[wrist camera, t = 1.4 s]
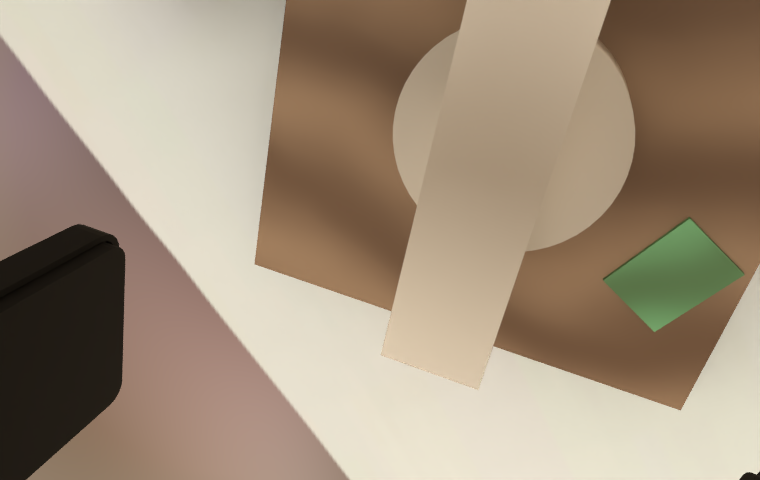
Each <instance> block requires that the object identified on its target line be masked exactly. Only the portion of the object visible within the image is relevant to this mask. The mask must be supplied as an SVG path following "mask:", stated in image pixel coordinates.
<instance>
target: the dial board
mask: <svg viewBox="0 0 760 480" xmlns="http://www.w3.org/2000/svg"><path fill="white" fill-rule="evenodd" d="M466 2H467V0H286V7H285V15H284V23H283V32H282V40H281V48H280V57H279V65H278V73H277V82H276V90H275V98H274V107H273V115H272V123H271V132H270V140H269V148H268V157H267V165H266V173H265V182H264V190H263V198H262V207H261V215H260V224H259V232H258V240H257V249H256V257H255V264H256V265H259V266H262V267H264V268H267V269H270V270H273V271H276V272H279V273H282V274H285V275H288V276H291V277H294V278H297V279H299V280H302V281H305V282H308V283H311V284H314V285H317V286H320V287H323V288H326V289H329V290H332V291H334V292H337V293H340V294H343V295H346V296H349V297H352V298H355V299H358V300H361V301H364V302H367V303H369V304H372V305H375V306H378V307H381V308H384V309H387V310H390V311H392V307H393V303H394V299H395V295H396V290H397V286H398V282H399V278H400V274H401V270H402V266H403V262H404V258H405V253H406V249H407V245H408V241H409V237H410V233H411V229H412V225H413V220H414V216H415V212H416V208H417V205H416V203H415V202H414V200H413V199H412V197H411V196H410V195H409V193H408V191H407V189H406V187H405V185H404V183H403V181H402V178H401V176H400V173H399V171H398V167H397V163H396V159H395V155H394V147H393V122H394V115H395V110H396V106H397V103H398V99H399V96H400V94H401V91H402V89H403V87H404V84H405V82H406V81H407V79H408V77H409V76H410V74H411V72H412V71H413V69H414V68H415V67H416V65H417V64H418V63H419V61H420V60H421V59H422V58H423V57H424V56H425V55H426V54H427V53H428V52H429V51H430V50H431V49H432V48H433V47H434V46H435V45H437V44H438V43H439V42H441V41H442V40H443V39H445V38H446V37H448V36H449V35H451V34H453V33H455V32H457V31H458V30H460V27H461V23H462V19H463V14H464V10H465V6H466ZM598 39H599V40H600V41H601V42H602V43H603V44H604V45H605V46H606V48H607V49H608V50H609V51H610V52H611V54H612V55H613V57H614V58H615V60H616V62H617V63H618V65H619V66H620V69H621V71H622V73H623V76H624V78H625V80H626V84H627V88H628V91H629V95H630V100H631V104H632V109H633V114H634V123H635V148H634V153H633V159H632V163H631V167H630V170H629V173H628V176H627V178H626V180H625V182H624V185H623V187H622V189H621V191H620V192H619V194H618V195H617V197H616V198H615V200H614V201H613V203H612V204H611V206H610V207H609V208H608V209H607V210H606V211H605V212H604V214H603V215H602V216H601V217H600V218H599V219H597V220H596V221H595V222H594V223H593V224H592V225H591V226H589V227H588V228H586V229H585V230H584V231H582V232H581V233H579V234H578V235H576V236H574V237H572V238H570V239H568V240H566V241H564V242H562V243H559V244H556V245H553V246H551V247H547V248H543V249H538V250H533V251H525V254H524V257H523V260H522V263H521V266H520V269H519V272H518V274H517V277H516V280H515V283H514V286H513V289H512V292H511V295H510V298H509V301H508V304H507V307H506V310H505V313H504V316H503V318H502V321H501V324H500V327H499V330H498V333H497V336H496V339H495V342H494V345H493V346H495V347H498V348H501V349H504V350H506V351H509V352H512V353H515V354H518V355H521V356H524V357H527V358H530V359H533V360H536V361H538V362H541V363H544V364H547V365H550V366H553V367H556V368H559V369H562V370H565V371H568V372H571V373H573V374H576V375H579V376H582V377H585V378H588V379H591V380H594V381H597V382H600V383H603V384H606V385H608V386H611V387H614V388H617V389H620V390H623V391H626V392H629V393H632V394H635V395H638V396H641V397H643V398H646V399H649V400H652V401H655V402H658V403H661V404H664V405H667V406H670V407H673V408H676V409H678V410H681V409H682V407H683V405H684V403H685V401H686V399H687V397H688V395H689V394H690V392H691V390H692V388H693V386H694V384H695V382H696V381H697V379H698V377H699V375H700V373H701V371H702V369H703V368H704V366H705V364H706V362H707V360H708V358H709V356H710V355H711V353H712V351H713V349H714V347H715V345H716V343H717V342H718V340H719V338H720V336H721V334H722V332H723V330H724V329H725V327H726V325H727V323H728V321H729V319H730V317H731V316H732V314H733V312H734V310H735V308H736V306H737V304H738V303H739V301H740V299H741V297H742V295H743V293H744V291H745V290H746V288H747V286H748V284H749V282H750V280H751V278H752V277H753V275H754V273H755V271H756V269H757V267H758V265H759V264H760V0H611V1H610V4H609V7H608V10H607V13H606V16H605V19H604V22H603V25H602V28H601V31H600V34H599V37H598Z"/></svg>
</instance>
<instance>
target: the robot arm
mask: <svg viewBox="0 0 760 480" xmlns="http://www.w3.org/2000/svg"><path fill="white" fill-rule="evenodd" d="M124 285H125V253H124V251H123V249H121V248H120V247H119V243H118V241H117V239H116V238H115V237H114V236H113V235H111V234H108V233H105V232H102V231H99V230H97V229H94V228H91V227H88V226H85V225H80V224H77V225H74V226H71V227H69V228H67V229H65V230H63V231H61V232H59V233H57V234H55V235H53V236H51V237H49V238H47V239H45V240H43V241H41V242H39V243H37V244H34V245H32V246H30V247H28V248H26V249H24V250H22V251H20V252H18V253H16V254H14V255H12V256H10V257H8V258H6V259H4V260H2V261H0V480H26V479H27V478H28V477H30V476H31V475H32V474H33V473H34V472H35V471H36V470H37V469H39V468H40V466H42V465H43V464H44V463H45V462H46V461H48V460H49V459H50V458H51V457H52V456H53V455H54V454H55V453H57V451H59V450H60V449H61V448H62V447H63V446H64V445H65V444H67V443H68V442H69V441H70V440H71V439H72V438H73V437H74V436H76V435H77V434H78V433H79V432H80V431H81V430H82V429H83V428H84V427H86V426H87V425H88V424H89V423H90V422H91V421H92V420H93V419H95V418H96V417H97V416H98V415H99V414H100V413H101V412H102V411H104V410H105V409H106V408H107V407H108V406H109V405H110V404H111V403H112V402H113V401H114V400H115V398H116V396H117V395H118V393H119V391H120V388H121V384H122V361H123V324H124V323H123V322H124V320H123V319H124ZM739 480H760V472H759V473H758V474H757V475H756V474H753V473H751V472H748V473H745V474H744V475H743V476H742V477H741V478H740V479H739Z"/></svg>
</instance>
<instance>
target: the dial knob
mask: <svg viewBox="0 0 760 480" xmlns="http://www.w3.org/2000/svg"><path fill="white" fill-rule="evenodd" d="M610 1H611V0H467V2H466V6H465V10H464V14H463V19H462V23H461V27H460V30H458V31H457V32H455V33H453V34H451V35H449V36H448V37H446V38H445V39H443V40H442V41H441V42H439V43H438V44H437V45H435V46H434V47H433V48H432V49H431V50H430V51H429V52H428V53H427V54H426V55H425V56H424V57H423V58H422V59H421V60H420V61H419V63H418V64H417V65H416V67H415V68H414V69H413V71H412V72H411V74H410V76H409V77H408V79H407V81H406V82H405V84H404V87H403V89H402V91H401V94H400V96H399V99H398V103H397V106H396V110H395V115H394V122H393V147H394V155H395V159H396V163H397V167H398V171H399V173H400V176H401V178H402V181H403V183H404V185H405V187H406V189H407V191H408V193H409V195H410V196H411V197H412V199H413V200H414V202H415V203H416V205H417V208H416V212H415V216H414V220H413V225H412V229H411V233H410V237H409V241H408V245H407V249H406V253H405V258H404V262H403V266H402V270H401V274H400V278H399V282H398V286H397V290H396V295H395V299H394V303H393V307H392V311H391V315H390V319H389V323H388V328H387V332H386V336H385V340H384V344H383V348H382V352H381V355H382V356H385V357H388V358H391V359H393V360H396V361H399V362H402V363H405V364H407V365H410V366H413V367H416V368H418V369H421V370H424V371H427V372H430V373H432V374H435V375H438V376H441V377H444V378H446V379H449V380H452V381H455V382H458V383H460V384H463V385H466V386H469V387H472V388H474V389H477V390H478V389H479V386H480V383H481V380H482V377H483V374H484V371H485V368H486V365H487V363H488V360H489V357H490V354H491V351H492V348H493V345H494V342H495V339H496V336H497V333H498V330H499V327H500V324H501V321H502V318H503V316H504V313H505V310H506V307H507V304H508V301H509V298H510V295H511V292H512V289H513V286H514V283H515V280H516V277H517V274H518V272H519V269H520V266H521V263H522V260H523V257H524V254H525V251H533V250H538V249H543V248H547V247H551V246H553V245H556V244H559V243H562V242H564V241H566V240H568V239H570V238H572V237H574V236H576V235H578V234H579V233H581V232H582V231H584V230H585V229H586V228H588V227H589V226H591V225H592V224H593V223H594V222H595V221H596V220H597V219H599V218H600V217H601V216H602V215H603V214H604V212H605V211H606V210H607V209H608V208H609V207H610V206H611V204H612V203H613V201H614V200H615V198H616V197H617V195H618V194H619V192H620V191H621V189H622V187H623V185H624V182H625V180H626V178H627V176H628V173H629V170H630V167H631V163H632V159H633V153H634V148H635V123H634V114H633V109H632V104H631V100H630V95H629V91H628V88H627V84H626V80H625V78H624V76H623V73H622V71H621V69H620V66H619V65H618V63H617V62H616V60H615V58H614V57H613V55H612V54H611V52H610V51H609V50H608V49H607V48H606V46H605V45H604V44H603V43H602V42H601V41H600V40H599V39H598V37H599V34H600V31H601V28H602V25H603V22H604V19H605V16H606V13H607V10H608V7H609V4H610Z"/></svg>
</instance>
